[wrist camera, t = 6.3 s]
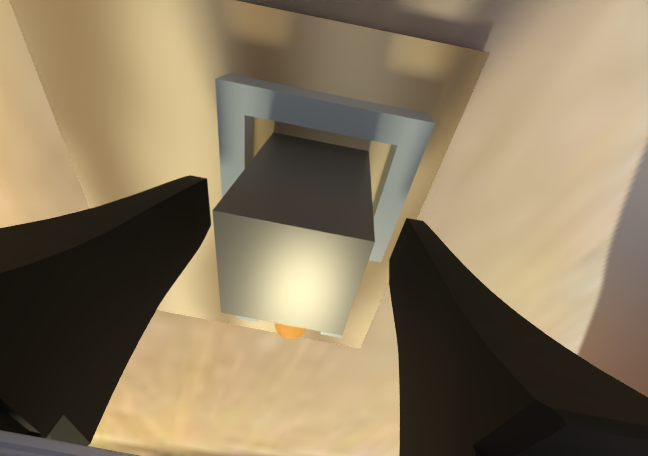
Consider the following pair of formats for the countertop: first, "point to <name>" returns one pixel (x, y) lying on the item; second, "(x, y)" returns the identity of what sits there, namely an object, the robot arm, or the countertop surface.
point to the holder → (327, 115)
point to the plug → (296, 235)
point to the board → (201, 107)
